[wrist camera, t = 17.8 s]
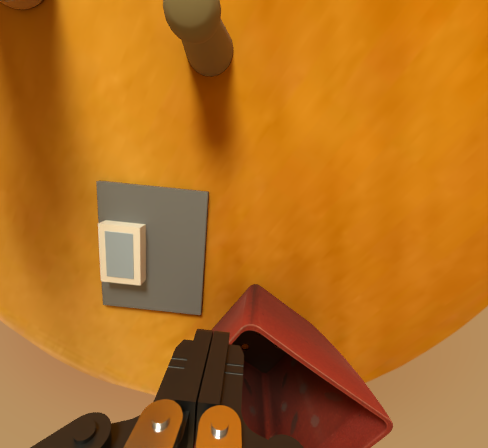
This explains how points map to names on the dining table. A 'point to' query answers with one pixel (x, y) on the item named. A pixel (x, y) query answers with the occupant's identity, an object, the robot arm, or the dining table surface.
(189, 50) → the cork
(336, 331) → the dining table surface
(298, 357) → the plant pot
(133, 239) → the card box
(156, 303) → the mat
